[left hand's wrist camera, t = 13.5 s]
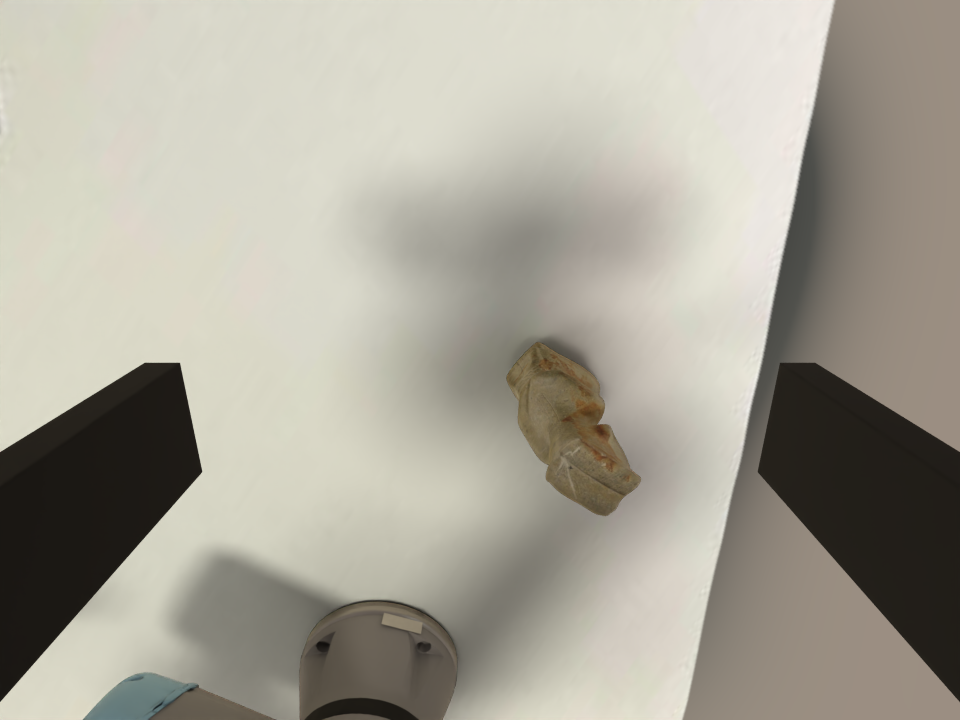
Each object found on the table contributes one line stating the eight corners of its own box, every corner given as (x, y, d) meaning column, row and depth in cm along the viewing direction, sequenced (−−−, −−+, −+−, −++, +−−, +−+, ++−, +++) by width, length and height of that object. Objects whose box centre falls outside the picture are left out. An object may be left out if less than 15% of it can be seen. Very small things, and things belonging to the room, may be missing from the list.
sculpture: (558, 425, 46) (592, 544, 32) (492, 373, 44) (498, 475, 30) (607, 375, 44) (667, 478, 30) (541, 319, 42) (572, 401, 28)
